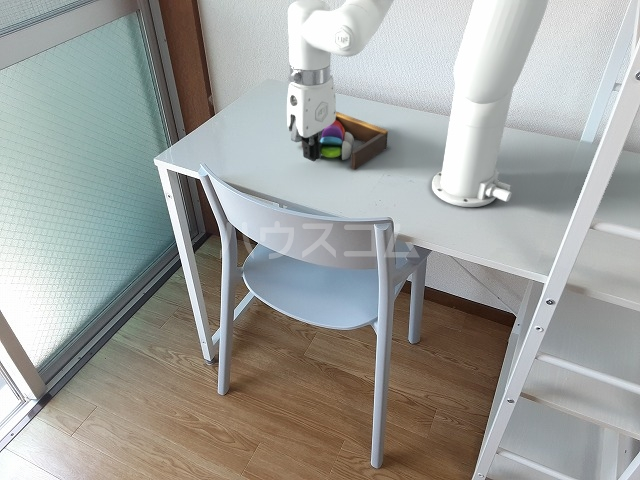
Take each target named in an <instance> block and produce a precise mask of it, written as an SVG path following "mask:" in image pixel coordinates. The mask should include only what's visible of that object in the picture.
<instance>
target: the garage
mask: <svg viewBox="0 0 640 480" xmlns="http://www.w3.org/2000/svg"><path fill="white" fill-rule="evenodd" d="M335 120H337V121H339V122H340V123H341V125H342V126H343V128H344V130H345V132H349V133H350V134H351V135H352V136H353V139H354V140H357V141H359V142H362V143H363V144H362V145H360V146H358V147H357V148H355V149H353V150H352V151H351V156H350V169H351V170H353V171H355V170H357V169H358V168H360V167H361V166H363V165H364V164H366V163H367V162H369V161H370V160H372V159H373V158H375V157H376V156H378V155H379V154H381V153H382V152H384V151H386V150H387V148H388V137H389V130H388V129H386V128H384V127H381V126H377V125H376V124H372V123H369V122H367V121H364V120H362V119H359V118H355V117H353V116H350V115H347V114H344V113H342V112H339V111H336V119H335ZM301 148H303V142H302V141H301Z"/></svg>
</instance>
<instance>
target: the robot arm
mask: <svg viewBox="0 0 640 480" xmlns="http://www.w3.org/2000/svg"><path fill="white" fill-rule="evenodd" d="M394 1H395V0H345V2H344V3H343V4H341V6H340V7H338V8H336V9H333V10H331V7H330V6H329V4H328V3H327V2H325V1H323V0H296V1H294V2H292V3H291V4H290V5H289V7H288V10H287V28H288V55H289V73H290V74H289V76H288V81H289V84H288V90H287V100H286V102H287V103H286V122H287V130H288V131H289V132H291V135H290V141H292V142H295V143H300V142H301V143H302V142H303V147H302V153H303V155H302V156H303V158H304V159H306V160H309V161H311V162H316V161H317V160H320V159H321V158H320V142H319V141H321V139H322V132H323V130H324V128H326V127H328V126H330V125H331V124H333V123H334V121H335V119H336V112H337V101H336V88H335V83H334V82H335V81H334V77H333V75H332V74H331V62H332V61H331V58H332V57H331V54H333V55H335V56H340V57H343V58H344V57H345V58H346V57H347V58H351V57H354V56H356V55H359V54H360V53H361V52H362V51H363V50H365V48H366V46H367V45H368V44H369V42H370V41H371V39H372V38H373V36H375V34H376V33H377V31H378V30H379V28H380V26H381V25H382V23H383V21H384V19H385V17H386V15H387V14H388V12H389V10H390V9H391V6H392V4H393V3H394ZM548 3H549V0H473V3H472V7H471V11H470V14H469V17H468V20H467V24H466V27H465V31H464V34H463V37H462V41H461V42H460V43H461V44H460V47H459V50H458V53H457V57H456V60H455V63H454V66H453V79H454V84H455V85H454V86H455V87H454V92H453V98H452V104H451V111H450V116H449V123H448V129H447V136H446V141H445V148H444V154H443V155H444V156H443V162H442V168H441V171H438V172H437V173H436V174H435V175H434V176H433V178H432V181H431V189H432V192H433V193H434V194H435V195H436V197H438V198H439V199H441V200H442V201H444V202H446V203H448V204H451V205H454V206H458V207H463V208H478V207H483V206H486V205H490V204H491V203H492V202H494V201H495V200H496V199H498V200H500V201H504V202H505V203H508V202H509V201H510V200H511V197H512V194H513V193H512V191H510V190H511V187H512V185H511V184H507V183H505V182H501V181H500V179H499V175H500V172H499V171H498V170H496V166H497V161H498V158H499V153H500V148H501V143H502V139H503V134H504V130H505V126H506V122H507V119H508V115H509V109H510V106H511V100H512V97H513V91H514V87H515V86H516V84H517V82H518V81H519V78H520V76H521V74H522V71H523V69H524V66H525V65H526V62H527V59H528V57H529V55H530V51H531V49H532V47H533V44H534V41H535V39H536V36H537V34H538V32H539V29H540V26H541V24H542V21H543V19H544V16H545V13H546V10H547V7H548ZM319 158H320V159H319Z"/></svg>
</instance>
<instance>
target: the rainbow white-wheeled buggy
mask: <svg viewBox="0 0 640 480" xmlns="http://www.w3.org/2000/svg"><path fill="white" fill-rule="evenodd" d="M354 140H355V139H354V138H353V136H352V135H351V134H350V133H349V132H345V130H344V128H343V126H342V125H341V123H340V122H339V121H337V120H335V121H334V123H333V124H331V125H330V126H328V127H326V128H324V130H323V132H322V139H321V141H319V142H320V158H319V159H318V160H320V159H321V158H322V156H323V157H326V158H337V157H339V156H341V160H342V161H346V160H348V159H349V158H351V152H352V151H353V150H352V148H353V146H354Z"/></svg>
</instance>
